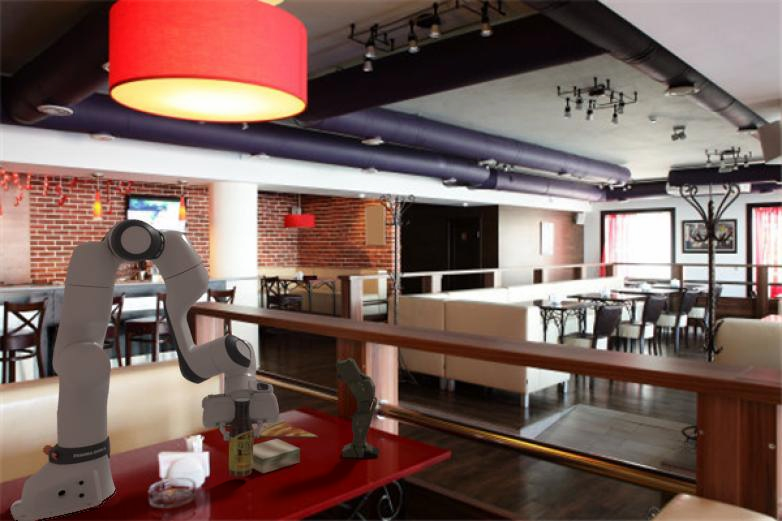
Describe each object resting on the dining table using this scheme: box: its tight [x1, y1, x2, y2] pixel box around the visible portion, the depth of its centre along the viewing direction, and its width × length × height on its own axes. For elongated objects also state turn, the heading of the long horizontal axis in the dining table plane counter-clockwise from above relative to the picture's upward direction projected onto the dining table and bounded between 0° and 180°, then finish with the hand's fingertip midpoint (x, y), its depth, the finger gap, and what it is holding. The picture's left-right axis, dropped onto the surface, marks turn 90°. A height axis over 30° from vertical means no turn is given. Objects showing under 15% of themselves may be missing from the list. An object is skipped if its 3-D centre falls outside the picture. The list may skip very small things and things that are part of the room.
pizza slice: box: [259, 418, 319, 438], centre depth 192 cm, size 16×22×2 cm
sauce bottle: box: [228, 398, 254, 478], centre depth 154 cm, size 7×6×20 cm
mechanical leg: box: [335, 357, 381, 459], centre depth 173 cm, size 14×7×30 cm, turn 84°
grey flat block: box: [252, 438, 301, 474], centre depth 167 cm, size 12×12×4 cm
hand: (241, 438), depth 154 cm, fingers closed on sauce bottle, 6 cm apart
